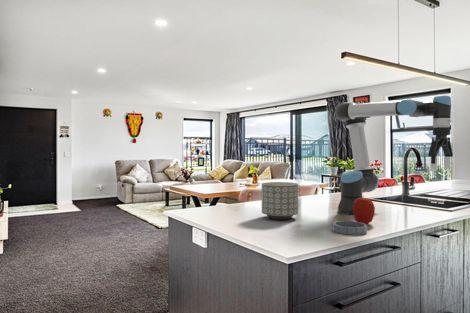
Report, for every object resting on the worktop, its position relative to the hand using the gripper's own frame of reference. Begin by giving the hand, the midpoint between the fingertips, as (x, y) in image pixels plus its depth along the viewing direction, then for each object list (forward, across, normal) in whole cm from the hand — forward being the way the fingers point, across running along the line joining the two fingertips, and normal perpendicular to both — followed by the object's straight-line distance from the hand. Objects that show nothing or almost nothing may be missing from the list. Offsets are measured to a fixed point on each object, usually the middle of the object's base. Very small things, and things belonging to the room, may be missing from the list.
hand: (440, 170), depth 168 cm
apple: (+26, -37, +17) cm, 49 cm away
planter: (+27, -61, +51) cm, 84 cm away
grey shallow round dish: (+26, -55, +12) cm, 62 cm away
